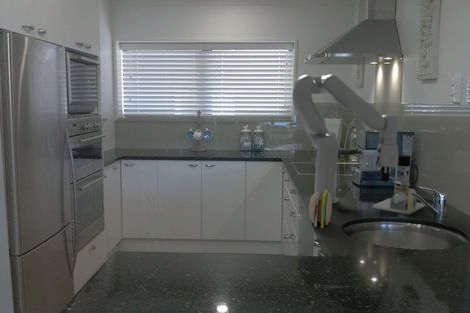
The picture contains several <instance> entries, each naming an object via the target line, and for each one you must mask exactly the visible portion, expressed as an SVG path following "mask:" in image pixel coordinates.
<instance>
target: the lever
mask: <svg viewBox="0 0 470 313" xmlns="http://www.w3.org/2000/svg"><path fill="white" fill-rule="evenodd" d="M389 182H390V183H394V184H395V183H398V184H401V186H409V187H410V181H409V182H406V181H401V180H397V179H396V178H395V177H392V176H389Z"/></svg>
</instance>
